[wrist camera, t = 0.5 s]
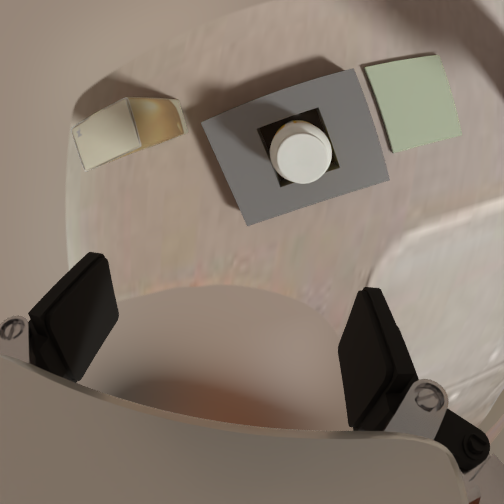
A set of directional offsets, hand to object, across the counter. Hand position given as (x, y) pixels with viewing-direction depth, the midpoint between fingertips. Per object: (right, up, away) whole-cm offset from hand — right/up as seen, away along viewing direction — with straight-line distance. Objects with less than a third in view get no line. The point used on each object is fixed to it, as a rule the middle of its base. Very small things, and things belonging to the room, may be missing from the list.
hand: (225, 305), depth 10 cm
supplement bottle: (+6, +14, +19) cm, 24 cm away
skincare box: (-9, +17, +20) cm, 27 cm away
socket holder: (+6, +13, +19) cm, 24 cm away
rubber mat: (+19, +19, +15) cm, 30 cm away
